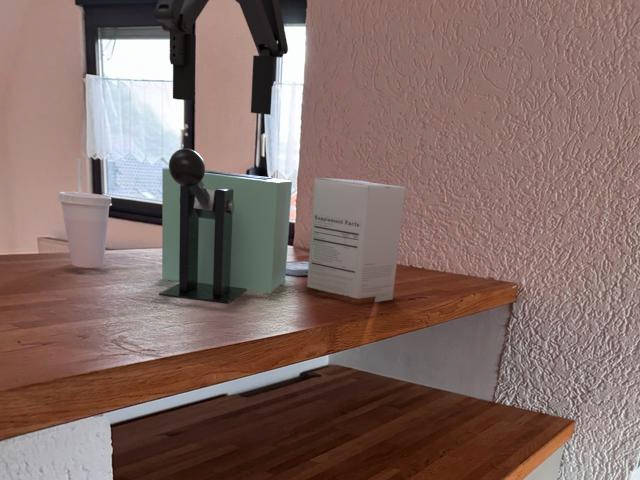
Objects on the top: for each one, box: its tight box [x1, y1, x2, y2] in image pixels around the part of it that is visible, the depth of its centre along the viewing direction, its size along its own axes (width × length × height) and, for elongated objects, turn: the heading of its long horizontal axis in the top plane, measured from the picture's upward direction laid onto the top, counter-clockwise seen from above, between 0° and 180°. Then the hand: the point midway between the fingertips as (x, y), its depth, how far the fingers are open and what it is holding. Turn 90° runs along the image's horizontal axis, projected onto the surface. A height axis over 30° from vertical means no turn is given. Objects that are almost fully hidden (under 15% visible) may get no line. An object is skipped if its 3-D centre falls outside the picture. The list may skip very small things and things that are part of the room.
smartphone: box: [286, 260, 309, 276], centre depth 118 cm, size 7×1×15 cm
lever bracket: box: [158, 185, 248, 305], centre depth 85 cm, size 10×8×13 cm
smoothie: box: [57, 156, 113, 269], centre depth 93 cm, size 6×6×14 cm
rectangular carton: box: [306, 177, 406, 303], centre depth 98 cm, size 9×9×15 cm
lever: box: [168, 148, 216, 219], centre depth 79 cm, size 12×4×4 cm, turn 176°
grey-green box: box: [161, 167, 293, 294], centre depth 95 cm, size 11×14×14 cm
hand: (224, 107), depth 89 cm, fingers open, 13 cm apart
